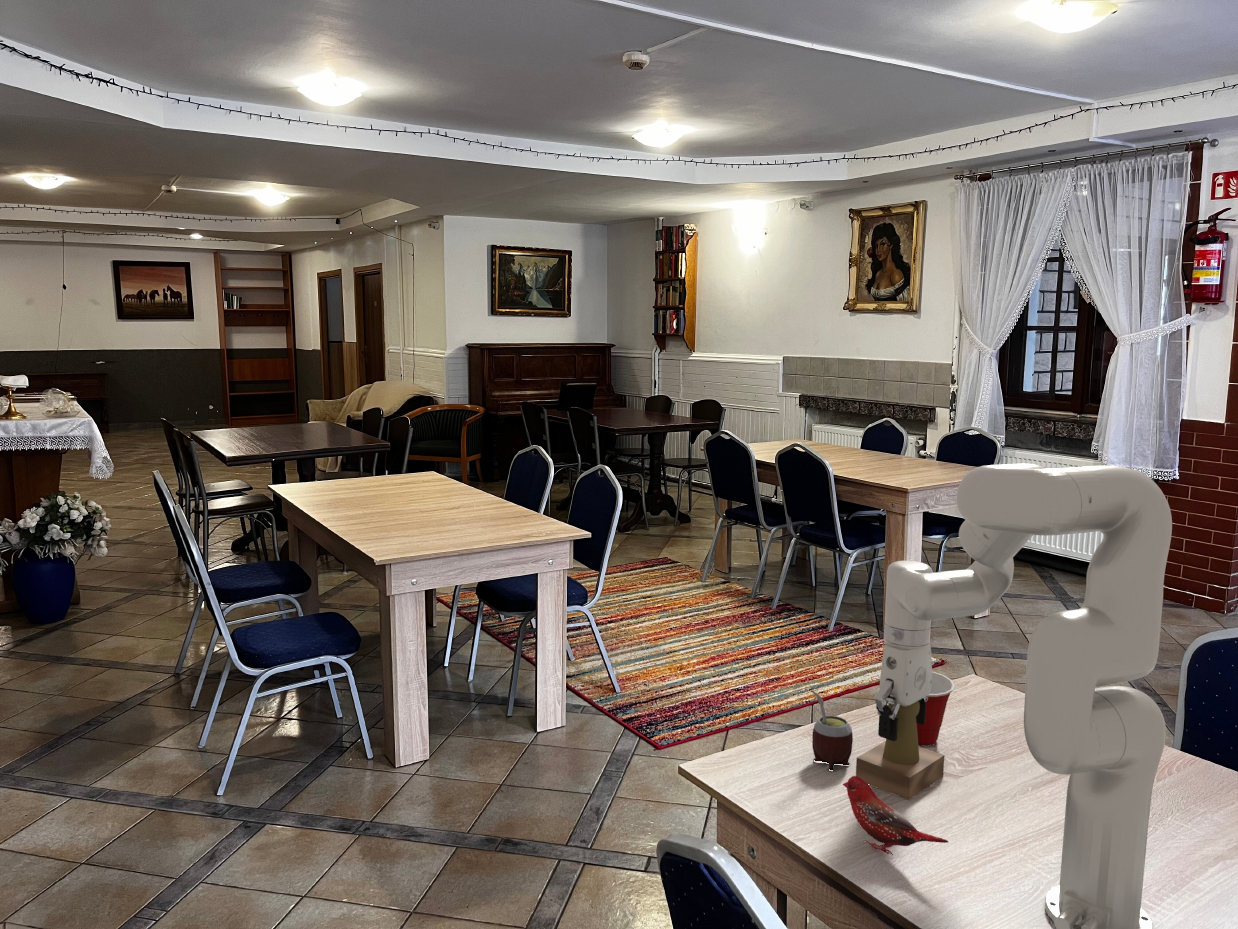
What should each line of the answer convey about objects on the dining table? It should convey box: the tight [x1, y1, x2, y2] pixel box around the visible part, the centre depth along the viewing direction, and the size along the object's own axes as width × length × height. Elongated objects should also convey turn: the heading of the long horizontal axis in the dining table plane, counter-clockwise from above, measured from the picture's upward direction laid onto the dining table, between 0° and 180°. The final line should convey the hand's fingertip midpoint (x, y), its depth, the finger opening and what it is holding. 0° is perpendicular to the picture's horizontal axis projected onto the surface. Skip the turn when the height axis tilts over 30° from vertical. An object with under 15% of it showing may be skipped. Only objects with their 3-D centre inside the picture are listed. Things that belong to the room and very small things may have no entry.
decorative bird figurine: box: [842, 775, 949, 856], centre depth 135 cm, size 3×18×10 cm, turn 41°
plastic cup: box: [916, 671, 955, 747], centre depth 175 cm, size 11×11×12 cm
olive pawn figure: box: [883, 697, 920, 765], centre depth 159 cm, size 6×6×11 cm
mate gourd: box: [810, 689, 854, 771], centre depth 164 cm, size 8×8×15 cm
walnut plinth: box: [855, 740, 945, 801], centre depth 160 cm, size 12×10×4 cm
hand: (902, 730), depth 159 cm, fingers open, 9 cm apart
